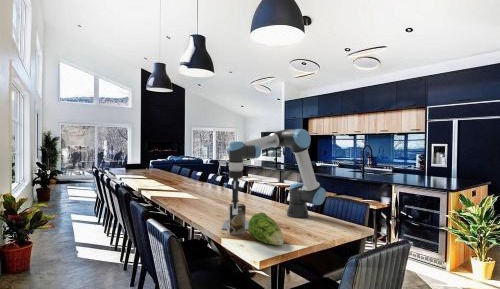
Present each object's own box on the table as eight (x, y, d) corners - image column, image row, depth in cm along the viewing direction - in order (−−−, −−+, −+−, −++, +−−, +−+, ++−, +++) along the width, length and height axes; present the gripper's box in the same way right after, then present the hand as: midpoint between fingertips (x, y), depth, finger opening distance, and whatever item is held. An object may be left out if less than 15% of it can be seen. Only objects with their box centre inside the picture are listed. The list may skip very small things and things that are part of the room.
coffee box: (229, 235, 167) (230, 206, 167) (227, 231, 173) (227, 203, 173) (245, 234, 169) (245, 205, 169) (242, 230, 176) (243, 203, 175)
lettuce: (270, 258, 146) (271, 234, 142) (243, 236, 164) (244, 214, 161) (292, 249, 154) (293, 226, 150) (264, 228, 172) (265, 207, 169)
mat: (253, 222, 194) (253, 221, 194) (252, 230, 176) (252, 229, 176) (225, 221, 194) (225, 220, 194) (221, 229, 176) (221, 228, 176)
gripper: (230, 168, 166) (229, 211, 167) (227, 171, 153) (226, 217, 154) (243, 169, 166) (242, 211, 167) (242, 171, 153) (241, 217, 154)
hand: (235, 214), depth 160 cm, fingers closed
